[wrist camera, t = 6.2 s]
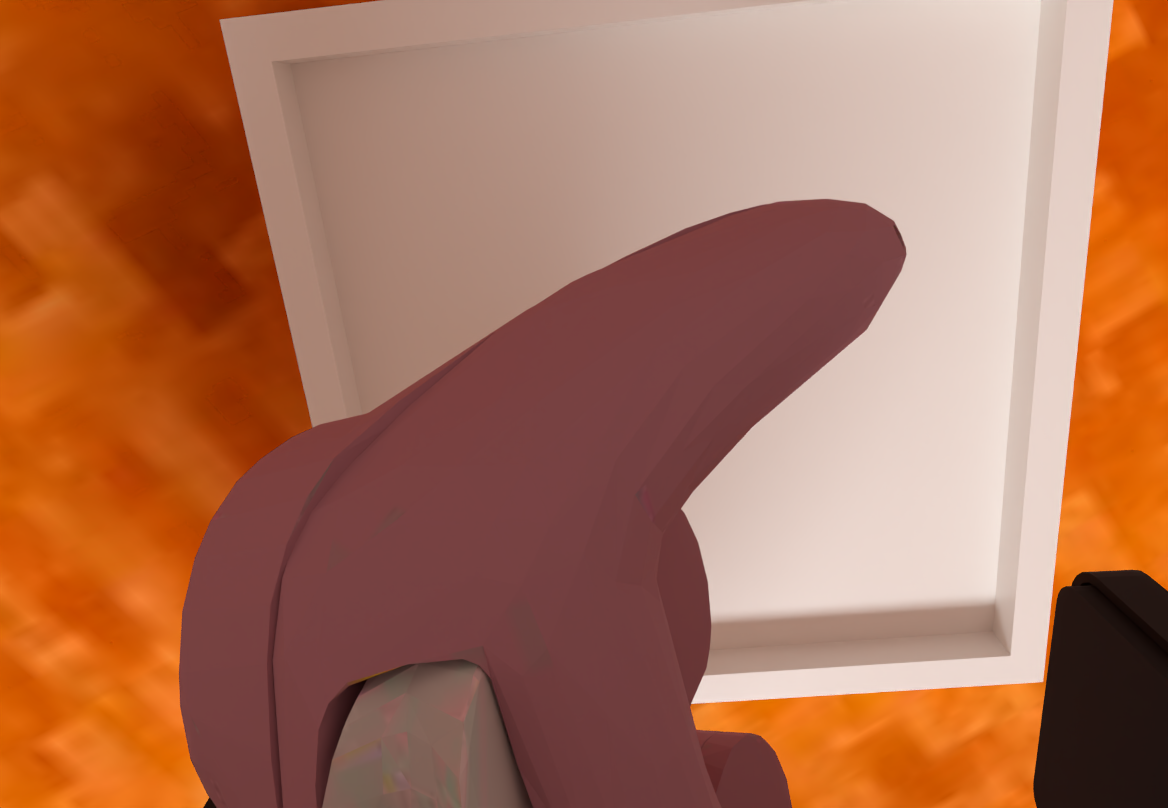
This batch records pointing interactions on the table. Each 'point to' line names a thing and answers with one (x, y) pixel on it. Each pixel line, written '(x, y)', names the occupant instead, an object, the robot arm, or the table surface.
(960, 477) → the tray
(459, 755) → the video game controller
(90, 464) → the table surface
